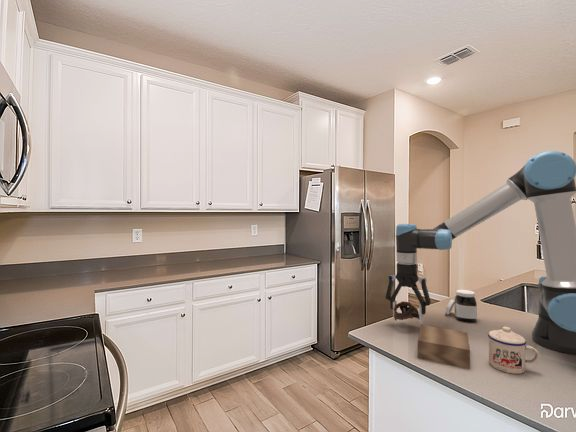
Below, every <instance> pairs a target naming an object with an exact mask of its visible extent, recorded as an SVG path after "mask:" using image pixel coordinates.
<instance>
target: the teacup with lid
mask: <svg viewBox="0 0 576 432" xmlns="http://www.w3.org/2000/svg"><path fill="white" fill-rule="evenodd" d="M487 336H488V362H489V365H490V366H492V368H494V369H497V370H498V371H500V372H505V373H508V374H513V375H518V374H523V373H525V372H526V364H529V365H530V364H535V363H537V361H538V360H539V359H540V353H539V351H538V350H537V349H536V348H535V347H533V346H531V345H526V344H527V340H526V339H525V337H523V336H522V335H521V334H518V333H516V332H514V331H512V329H511V327H509V326H503V327H502V328H501V329H491V330H490V331H489V332H488V333H487ZM526 349H527V350H531V351H533V352H535V355H534V357H533V358H532V359H526Z"/></svg>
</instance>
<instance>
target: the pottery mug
mask: <svg viewBox="0 0 576 432" xmlns="http://www.w3.org/2000/svg"><path fill="white" fill-rule="evenodd" d="M398 309H399V310H400V312H399V311H398ZM396 310H397V312H396ZM394 318H395V319H394ZM394 318H393V319H394V321H395V322H396V321H397V320H399V321H403V320H407V319H410V320H411V319H418V320H419V309H417V307H416V306H414V305H413V304H412V303H411V302H410V301H409V302H408V301H405V300H404V301H400V302H399V303H397V305H396V306H395V307H394Z"/></svg>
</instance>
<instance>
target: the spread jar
mask: <svg viewBox="0 0 576 432" xmlns="http://www.w3.org/2000/svg"><path fill="white" fill-rule="evenodd" d="M455 294H456V295H455V296H454V300H453V299H450V301H449V302H448V303H447V305H446V308H445V311H444V313H445V314H446V315H450V314H451V313H452V310H453V308H454V316H455V318H456V319H457V320H459V321H461V320H462V322H466V321H467V323H469V322H470V323H471V322H475V321H477V318H478V305H477V303H478V302H477V300H476V292H475V291H472V290H467V289H457V290H456V291H455Z"/></svg>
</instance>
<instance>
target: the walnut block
mask: <svg viewBox="0 0 576 432" xmlns="http://www.w3.org/2000/svg"><path fill="white" fill-rule="evenodd" d="M417 358H418V359H420V360H425V361H429V362H433V363H438V364H439V363H440V364H444V365H448V366H453V367H458V368H462V369H467V370H470V369H471V368H470V367H471V365H470V364H471V349H470V343H469V335H468V332H465V331H461V330H460V331H459V330H454V329H448V328H443V327H441V328H440V327H436V326H429V325H423V324H421V326H420V329H419V334H418V338H417Z"/></svg>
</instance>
